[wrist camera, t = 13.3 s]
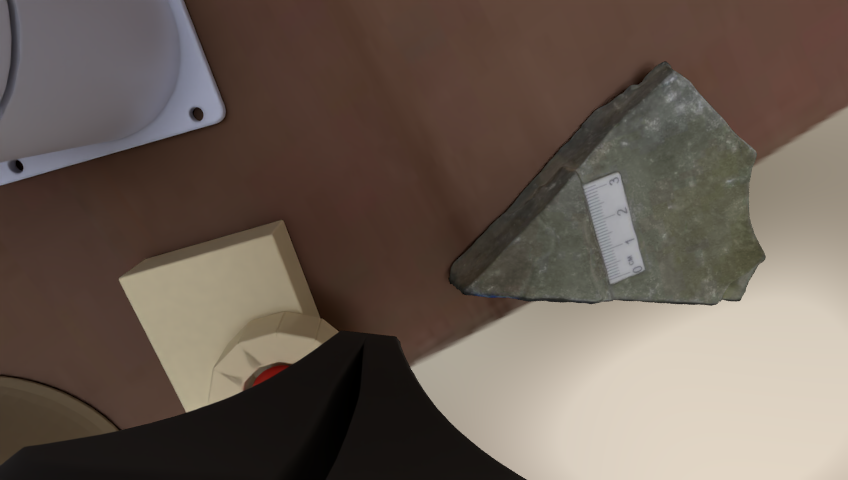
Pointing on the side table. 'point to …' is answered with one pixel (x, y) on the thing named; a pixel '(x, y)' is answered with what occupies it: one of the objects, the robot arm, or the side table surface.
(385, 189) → the side table surface
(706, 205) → the stone
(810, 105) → the side table surface
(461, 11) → the side table surface
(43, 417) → the bowl
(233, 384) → the button box
